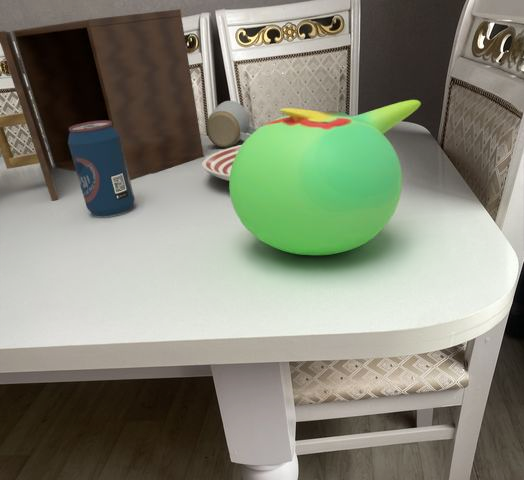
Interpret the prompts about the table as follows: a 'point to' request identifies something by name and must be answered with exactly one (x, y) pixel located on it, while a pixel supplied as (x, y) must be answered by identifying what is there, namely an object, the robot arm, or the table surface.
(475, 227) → the table surface
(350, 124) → the toy bird
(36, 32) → the cupboard
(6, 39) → the cupboard door
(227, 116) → the ceramic mug
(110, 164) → the soda can
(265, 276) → the table surface
